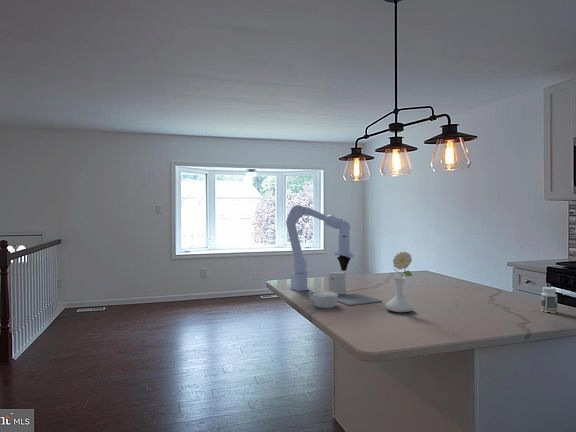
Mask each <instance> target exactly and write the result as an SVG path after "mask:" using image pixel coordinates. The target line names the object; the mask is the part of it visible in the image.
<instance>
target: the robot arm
mask: <svg viewBox="0 0 576 432" xmlns="http://www.w3.org/2000/svg"><path fill="white" fill-rule="evenodd" d="M303 216H304V217H306V216H310V217H313V218H316V219H318V220H320V221H323V222H324V224H325V226H329V227H330V228H332V229H334V230H339V231H338V234H339V235H338V251H334V256H337V257H336V258H337V261H338V262H339V266H340V270H341V271H343V272H345V271H347V269H348V265H349V262H350V260H351V259H354V258H355V257H354V256H355V255H354V253H352V252H351V250H350V249H351V248H350V244H351V243H350V240H351V239H350V237H351V236H350V230H351V226H350V223H349V222H348V221H346V220H344V219H343V218H339V217H336V216H335V215H334V214H328V215H326V214H323V213H322V212H319V211H317V210H315V209H312V208H310V207H307V206H303V205H299V204H295V205H294V206H293V207H292V208H291V209H290V211H289V213H288V215H287V218H286V222H285V223H286V224H285V225H286V228H287V232H288V236H289V237H288V238H289V242H290V245H291V251H292V254H293V261H294V264H293V269H294V271H293V272H292V273H291V275H290V286H289V289H291V290H294V291H296V292H301V291H310V290H311V288H309V287H308V271H307V267H308V263H307V260H306V259H305V257H304V254H303V251H302V246H301V243H300V242H301V241H300V237H299V234H298V229H297V225H296V224H297V222H298V221H299V219H300V218H302V217H303Z"/></svg>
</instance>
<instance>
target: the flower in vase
mask: <svg viewBox="0 0 576 432" xmlns="http://www.w3.org/2000/svg"><path fill="white" fill-rule="evenodd" d="M412 261H413V260H412V255H411V254H410V253H408V252H407V251H403V252H402V251H400V252H399V253H397V254H396V255H395V256H394V258H393V260H392V263H393V267H394V271H395V273H398V274H399V275H400V276H393V279H394V280H395V284H396V294H395V296H394V297H393V298H391V299H390V300H389V301H387V302H386V303H385V306H384V307H385V308H386V309H387V310H389V311H391V312H395V313H407V312H408V313H409V312H411V311H412V312H413V310H414V309H415V307H414V305H413V304H412V303H411V302H410V301H409V300H408V299H406V298H405V296H404V295H403V287H404V282H405V281H406V279H407V278H406V277H413V274H412V273H411V271H410V270H406V269H407V268H408V267H409V266H410V265H411V263H412ZM403 269H404V270H403ZM398 270H403V273H401V272H400V271H398ZM404 276H405V277H404Z"/></svg>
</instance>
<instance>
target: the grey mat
mask: <svg viewBox="0 0 576 432" xmlns="http://www.w3.org/2000/svg"><path fill="white" fill-rule="evenodd" d="M337 303H340V304H343V305H345V306H347V305H348V306H347V307H351V306H352V305H353V306H358V305H359V306H360V304H361V305H367V304H375V303H382V300H380V299H378V298H374V297H372V296H370V295H369V296H368V295H365V294H362V293H359V292H357V293H347V294H338V297H337Z"/></svg>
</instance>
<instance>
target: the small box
mask: <svg viewBox="0 0 576 432" xmlns="http://www.w3.org/2000/svg"><path fill="white" fill-rule="evenodd" d="M346 289H347V288H346V272H340V271H339V272H332V271H331V272H330V271H329V272H328V292H334V293H337V294H338V295H345V294H346V293H347V292H346Z"/></svg>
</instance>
